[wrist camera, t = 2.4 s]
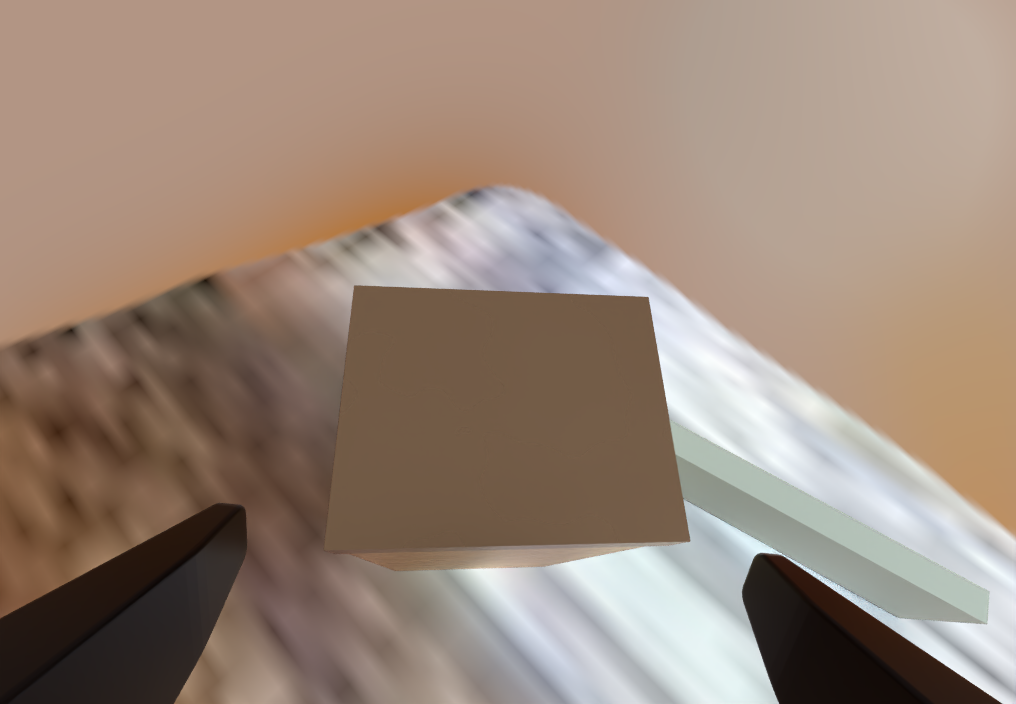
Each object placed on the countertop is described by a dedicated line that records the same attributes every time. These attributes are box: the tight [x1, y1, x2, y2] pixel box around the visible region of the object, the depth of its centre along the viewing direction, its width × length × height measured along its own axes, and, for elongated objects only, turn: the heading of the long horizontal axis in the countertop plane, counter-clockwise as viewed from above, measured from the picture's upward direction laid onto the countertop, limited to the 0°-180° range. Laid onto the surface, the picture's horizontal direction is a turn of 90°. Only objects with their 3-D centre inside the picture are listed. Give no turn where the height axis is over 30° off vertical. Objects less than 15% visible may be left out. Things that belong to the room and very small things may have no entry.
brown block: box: [324, 285, 690, 571], centre depth 13 cm, size 5×4×11 cm
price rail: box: [670, 420, 989, 624], centre depth 18 cm, size 18×1×3 cm, turn 62°
